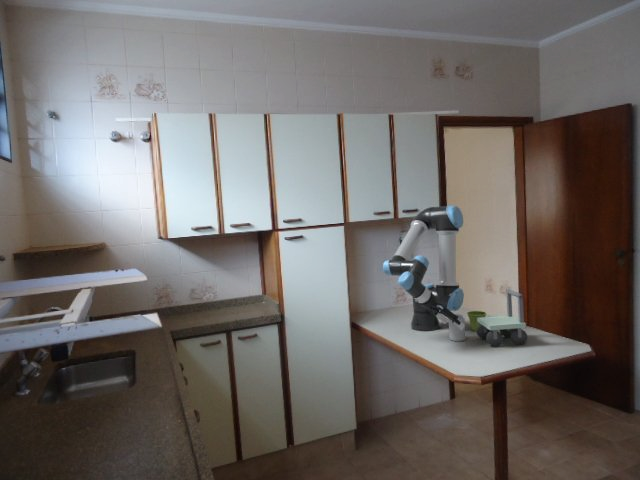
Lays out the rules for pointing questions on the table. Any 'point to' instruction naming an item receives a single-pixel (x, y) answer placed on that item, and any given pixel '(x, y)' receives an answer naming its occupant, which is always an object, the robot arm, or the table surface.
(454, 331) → the can
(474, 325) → the plant pot
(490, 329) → the trolley
